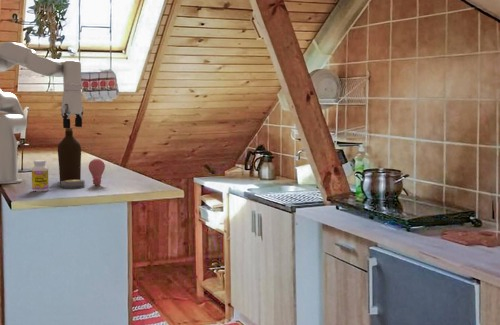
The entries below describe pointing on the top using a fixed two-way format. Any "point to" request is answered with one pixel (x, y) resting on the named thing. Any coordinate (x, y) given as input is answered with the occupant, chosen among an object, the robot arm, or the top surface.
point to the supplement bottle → (39, 176)
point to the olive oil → (69, 157)
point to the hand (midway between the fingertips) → (72, 127)
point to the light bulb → (96, 170)
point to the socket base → (73, 183)
